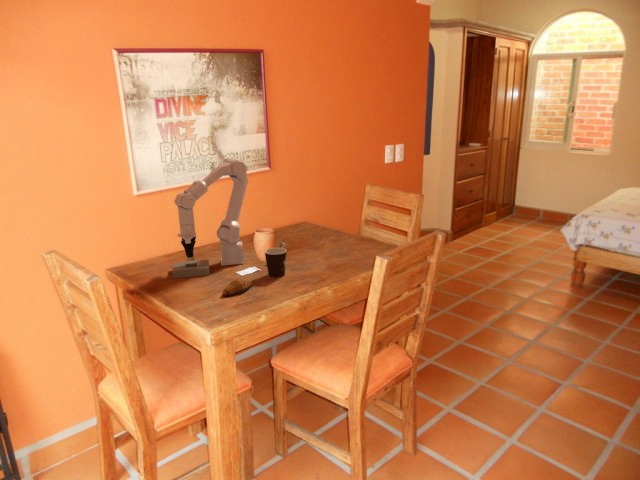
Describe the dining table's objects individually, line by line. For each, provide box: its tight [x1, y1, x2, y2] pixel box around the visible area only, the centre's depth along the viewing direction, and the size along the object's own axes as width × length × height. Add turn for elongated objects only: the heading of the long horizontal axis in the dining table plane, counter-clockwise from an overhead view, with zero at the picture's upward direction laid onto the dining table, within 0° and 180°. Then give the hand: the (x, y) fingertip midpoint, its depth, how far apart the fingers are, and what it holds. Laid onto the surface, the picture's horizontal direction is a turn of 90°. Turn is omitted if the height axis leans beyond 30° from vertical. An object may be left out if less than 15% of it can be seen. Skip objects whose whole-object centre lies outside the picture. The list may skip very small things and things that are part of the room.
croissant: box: [222, 279, 253, 297], centre depth 176 cm, size 14×7×5 cm, turn 140°
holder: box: [172, 259, 210, 279], centre depth 196 cm, size 14×11×3 cm
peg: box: [184, 250, 196, 262], centre depth 194 cm, size 3×3×6 cm
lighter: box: [278, 242, 286, 249], centre depth 206 cm, size 7×2×8 cm, turn 131°
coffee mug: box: [264, 247, 287, 279], centre depth 191 cm, size 12×9×10 cm
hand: (190, 255), depth 195 cm, fingers closed on peg, 3 cm apart
